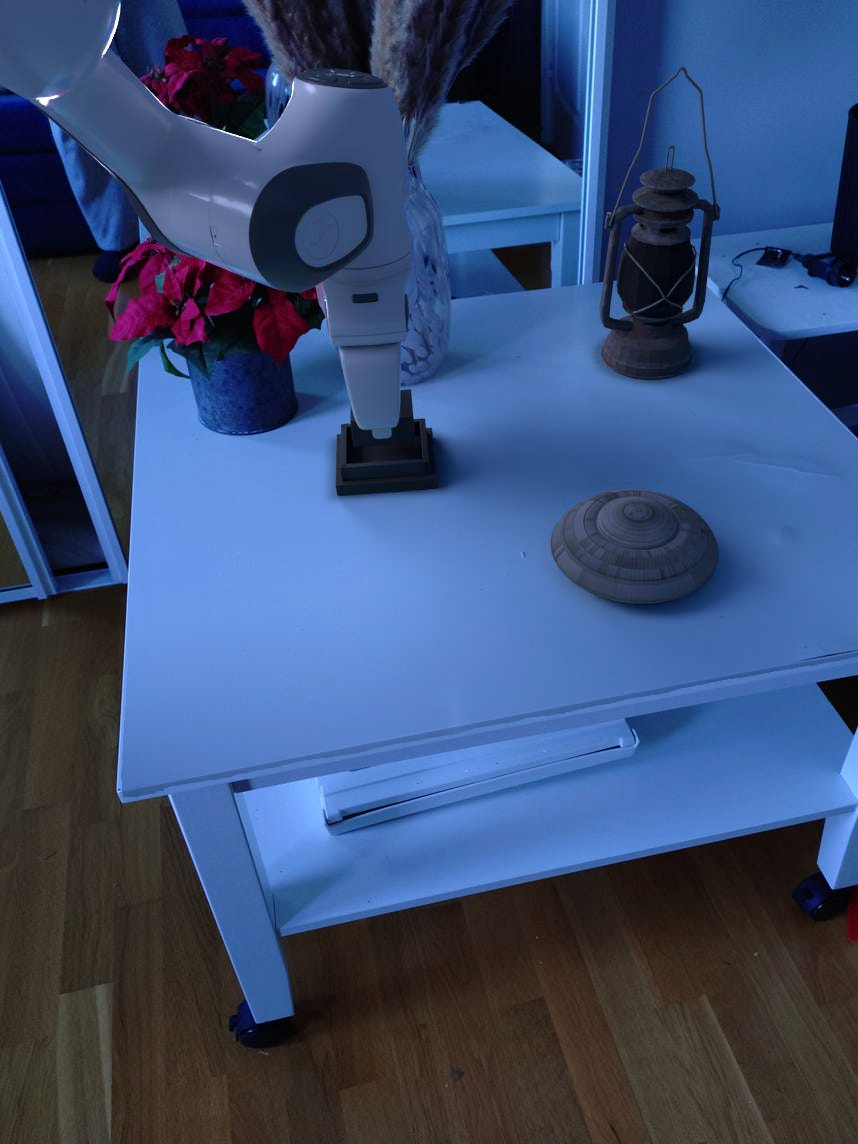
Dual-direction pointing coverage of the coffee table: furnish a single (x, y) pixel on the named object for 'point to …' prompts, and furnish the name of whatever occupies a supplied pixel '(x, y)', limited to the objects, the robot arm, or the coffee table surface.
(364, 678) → the coffee table surface
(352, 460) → the black open box
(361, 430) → the small block
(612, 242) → the lantern
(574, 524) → the flying saucer
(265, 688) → the coffee table surface
